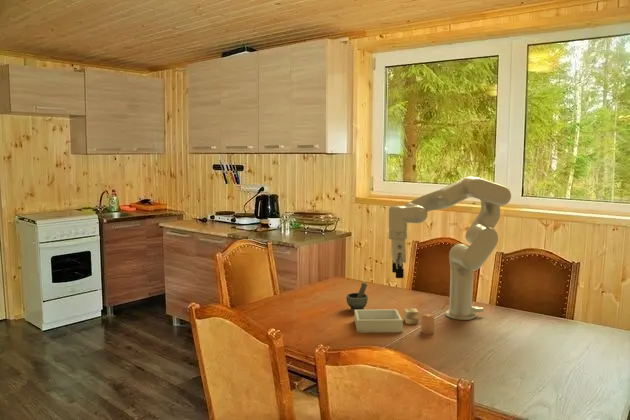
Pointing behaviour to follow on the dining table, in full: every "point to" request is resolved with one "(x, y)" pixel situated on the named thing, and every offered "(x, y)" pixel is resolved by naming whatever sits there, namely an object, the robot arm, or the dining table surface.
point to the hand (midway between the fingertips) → (397, 275)
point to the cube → (411, 315)
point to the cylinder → (427, 323)
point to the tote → (378, 321)
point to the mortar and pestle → (358, 299)
